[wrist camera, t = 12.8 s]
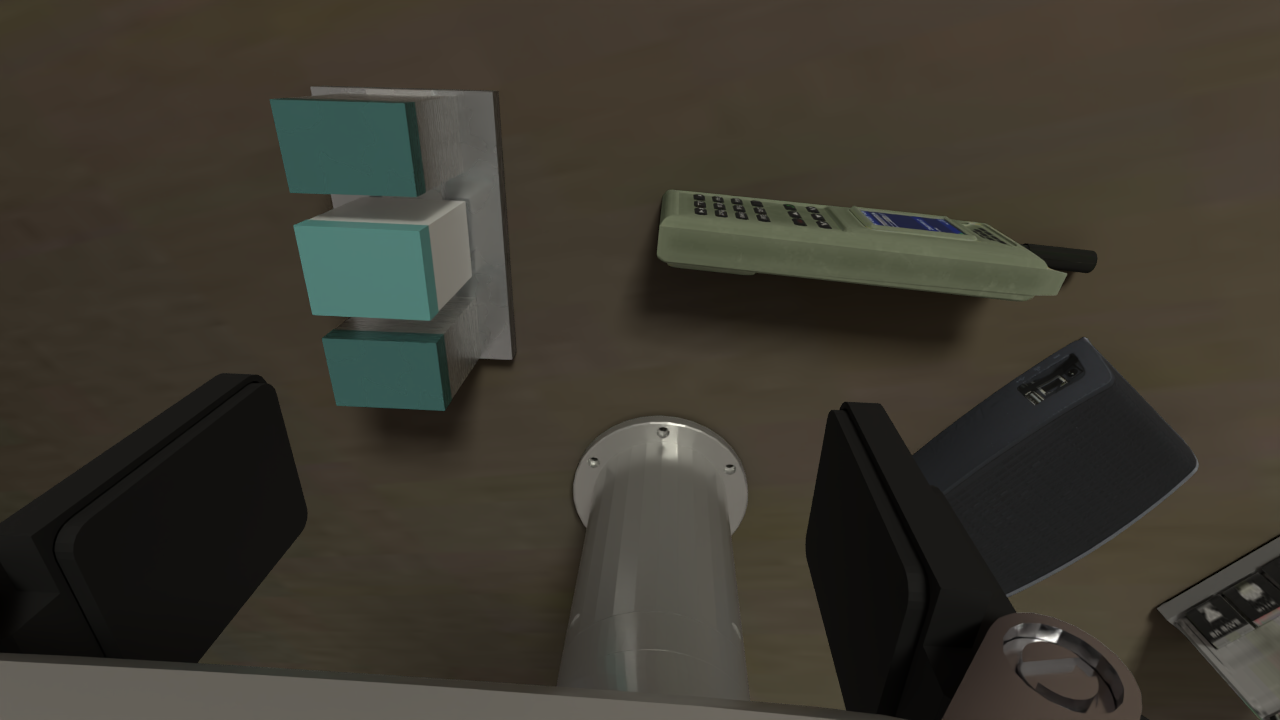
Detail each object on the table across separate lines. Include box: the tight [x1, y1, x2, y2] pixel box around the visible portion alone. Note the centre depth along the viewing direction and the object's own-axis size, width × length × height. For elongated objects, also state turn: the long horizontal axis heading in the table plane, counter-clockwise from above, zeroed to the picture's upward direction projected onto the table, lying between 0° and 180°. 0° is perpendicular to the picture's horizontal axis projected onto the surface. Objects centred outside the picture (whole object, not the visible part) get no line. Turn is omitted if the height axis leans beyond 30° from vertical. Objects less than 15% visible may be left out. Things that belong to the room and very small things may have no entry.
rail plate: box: [270, 86, 516, 411], centre depth 34 cm, size 16×10×8 cm, turn 179°
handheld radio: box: [657, 190, 1097, 301], centre depth 34 cm, size 7×3×25 cm
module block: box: [294, 197, 472, 321], centre depth 33 cm, size 4×6×7 cm
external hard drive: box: [912, 337, 1199, 597], centre depth 42 cm, size 13×19×4 cm
